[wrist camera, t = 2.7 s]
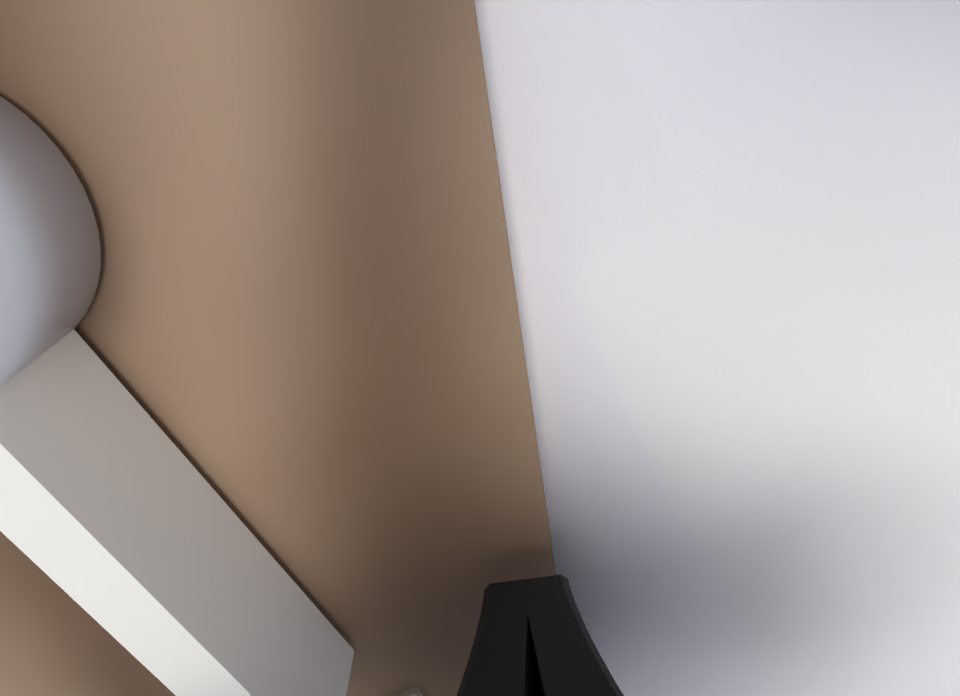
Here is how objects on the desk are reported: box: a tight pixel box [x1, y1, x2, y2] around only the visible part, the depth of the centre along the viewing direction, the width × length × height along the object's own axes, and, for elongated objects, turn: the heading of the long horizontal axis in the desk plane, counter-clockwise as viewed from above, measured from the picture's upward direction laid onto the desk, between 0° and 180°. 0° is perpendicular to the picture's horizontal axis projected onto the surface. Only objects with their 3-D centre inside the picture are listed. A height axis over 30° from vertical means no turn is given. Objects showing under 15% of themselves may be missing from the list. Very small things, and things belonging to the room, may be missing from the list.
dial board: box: [0, 0, 556, 696], centre depth 12 cm, size 16×18×1 cm
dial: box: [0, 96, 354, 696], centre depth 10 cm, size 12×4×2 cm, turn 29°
